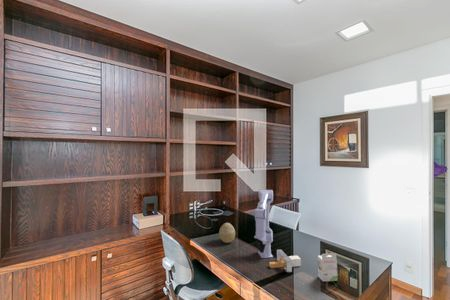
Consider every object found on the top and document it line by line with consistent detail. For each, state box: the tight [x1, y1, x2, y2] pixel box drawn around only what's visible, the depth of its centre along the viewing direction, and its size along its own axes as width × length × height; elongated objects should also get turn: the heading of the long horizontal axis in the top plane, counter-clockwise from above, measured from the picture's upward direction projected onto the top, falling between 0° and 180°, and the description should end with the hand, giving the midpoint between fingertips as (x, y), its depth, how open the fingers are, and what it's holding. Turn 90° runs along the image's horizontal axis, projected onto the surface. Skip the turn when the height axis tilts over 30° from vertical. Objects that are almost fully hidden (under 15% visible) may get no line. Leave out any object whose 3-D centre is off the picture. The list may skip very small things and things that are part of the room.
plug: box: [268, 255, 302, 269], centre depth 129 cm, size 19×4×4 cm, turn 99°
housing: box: [276, 249, 293, 273], centre depth 129 cm, size 14×3×7 cm, turn 9°
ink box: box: [317, 252, 339, 282], centre depth 115 cm, size 9×5×15 cm, turn 92°
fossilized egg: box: [218, 222, 236, 244], centre depth 165 cm, size 13×13×15 cm
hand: (261, 251), depth 127 cm, fingers closed
